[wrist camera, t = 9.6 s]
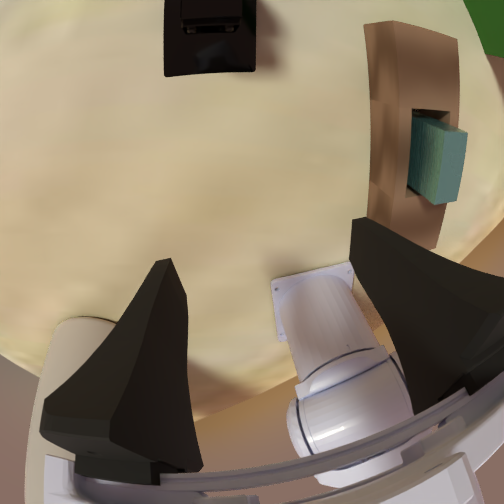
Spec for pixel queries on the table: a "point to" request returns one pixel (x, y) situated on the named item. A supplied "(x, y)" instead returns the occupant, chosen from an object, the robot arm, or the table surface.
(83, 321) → the cylinder vase
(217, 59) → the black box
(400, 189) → the slotted beam
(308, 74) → the table surface
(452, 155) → the teal rectangular block
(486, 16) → the hardback book
